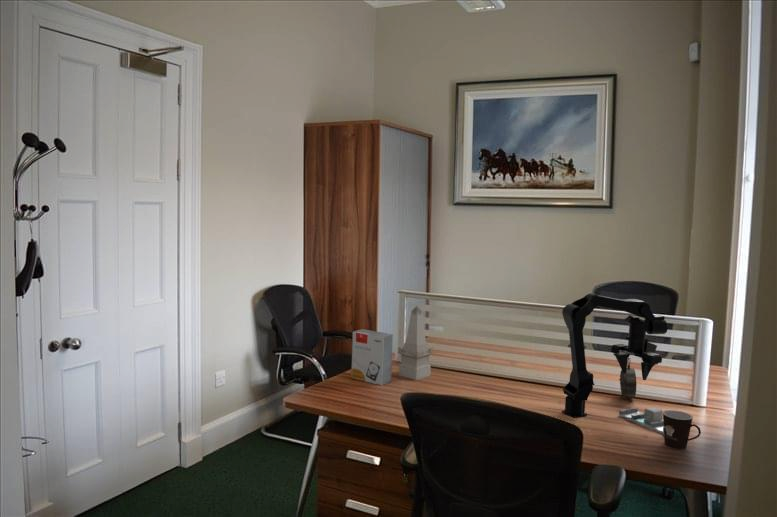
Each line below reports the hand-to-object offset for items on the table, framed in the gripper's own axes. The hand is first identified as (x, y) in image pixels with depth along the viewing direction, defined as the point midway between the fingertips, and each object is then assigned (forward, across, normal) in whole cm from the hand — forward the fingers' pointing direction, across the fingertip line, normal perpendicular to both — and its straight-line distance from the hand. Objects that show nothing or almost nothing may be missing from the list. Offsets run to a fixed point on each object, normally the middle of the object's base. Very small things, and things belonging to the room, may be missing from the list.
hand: (634, 376), depth 235 cm
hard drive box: (+13, +70, +72) cm, 102 cm away
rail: (+13, -12, +4) cm, 18 cm away
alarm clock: (+13, +12, -10) cm, 20 cm away
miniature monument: (+13, +70, +52) cm, 88 cm away
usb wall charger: (+12, -12, +4) cm, 18 cm away
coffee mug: (+13, -31, +13) cm, 36 cm away
